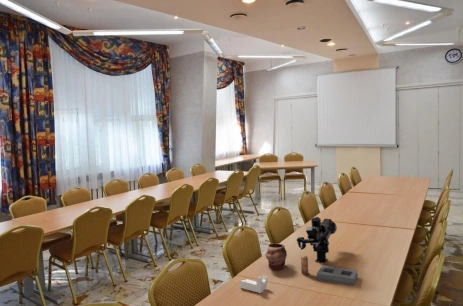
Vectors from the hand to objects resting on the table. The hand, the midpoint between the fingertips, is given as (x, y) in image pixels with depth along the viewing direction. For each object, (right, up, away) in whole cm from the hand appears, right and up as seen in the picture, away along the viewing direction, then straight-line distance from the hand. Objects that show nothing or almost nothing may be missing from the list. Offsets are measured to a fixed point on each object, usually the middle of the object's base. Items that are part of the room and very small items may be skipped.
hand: (308, 248), depth 205 cm
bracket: (-33, -19, -11) cm, 39 cm away
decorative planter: (-16, -16, +18) cm, 29 cm away
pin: (-1, -16, +5) cm, 17 cm away
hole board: (+16, -16, -4) cm, 23 cm away
